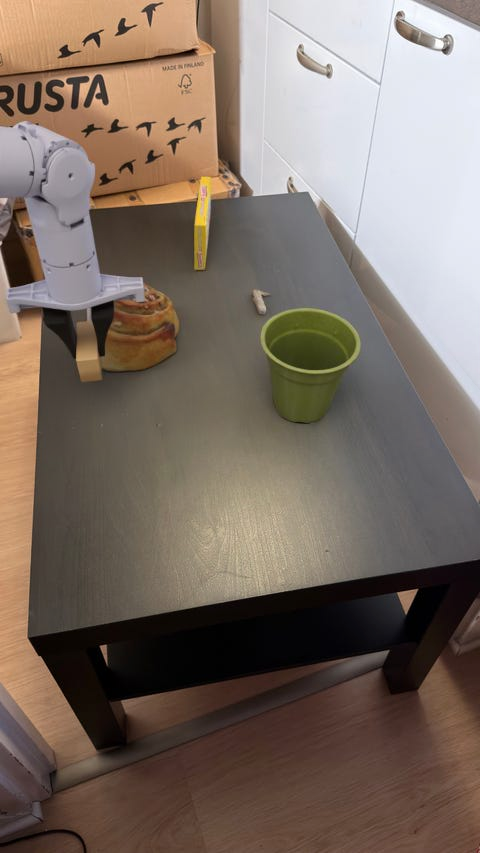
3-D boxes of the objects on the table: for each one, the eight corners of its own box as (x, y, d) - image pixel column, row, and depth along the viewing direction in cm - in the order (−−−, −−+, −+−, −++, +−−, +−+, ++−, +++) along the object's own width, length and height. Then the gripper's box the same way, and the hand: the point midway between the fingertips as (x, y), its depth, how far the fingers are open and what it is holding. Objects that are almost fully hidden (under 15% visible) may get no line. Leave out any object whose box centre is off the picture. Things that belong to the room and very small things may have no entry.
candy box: (207, 271, 102) (205, 225, 96) (194, 271, 102) (191, 225, 96) (212, 219, 113) (211, 175, 107) (200, 219, 113) (198, 175, 107)
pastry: (177, 302, 96) (174, 257, 90) (183, 368, 86) (179, 322, 80) (90, 308, 95) (81, 262, 89) (86, 375, 85) (75, 329, 79)
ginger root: (277, 311, 94) (258, 310, 93) (276, 315, 95) (257, 315, 94) (268, 288, 98) (250, 288, 97) (267, 293, 99) (249, 292, 98)
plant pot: (327, 451, 77) (340, 385, 68) (241, 418, 80) (243, 352, 72) (359, 390, 84) (374, 324, 75) (279, 363, 87) (285, 297, 79)
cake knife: (102, 380, 73) (97, 358, 71) (81, 382, 73) (76, 360, 70) (99, 285, 86) (95, 264, 83) (82, 287, 85) (77, 265, 83)
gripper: (136, 226, 67) (148, 325, 78) (-2, 236, 66) (29, 336, 76) (140, 263, 63) (152, 363, 73) (-9, 275, 61) (25, 375, 71)
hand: (89, 352), depth 74 cm, fingers closed on cake knife, 2 cm apart
